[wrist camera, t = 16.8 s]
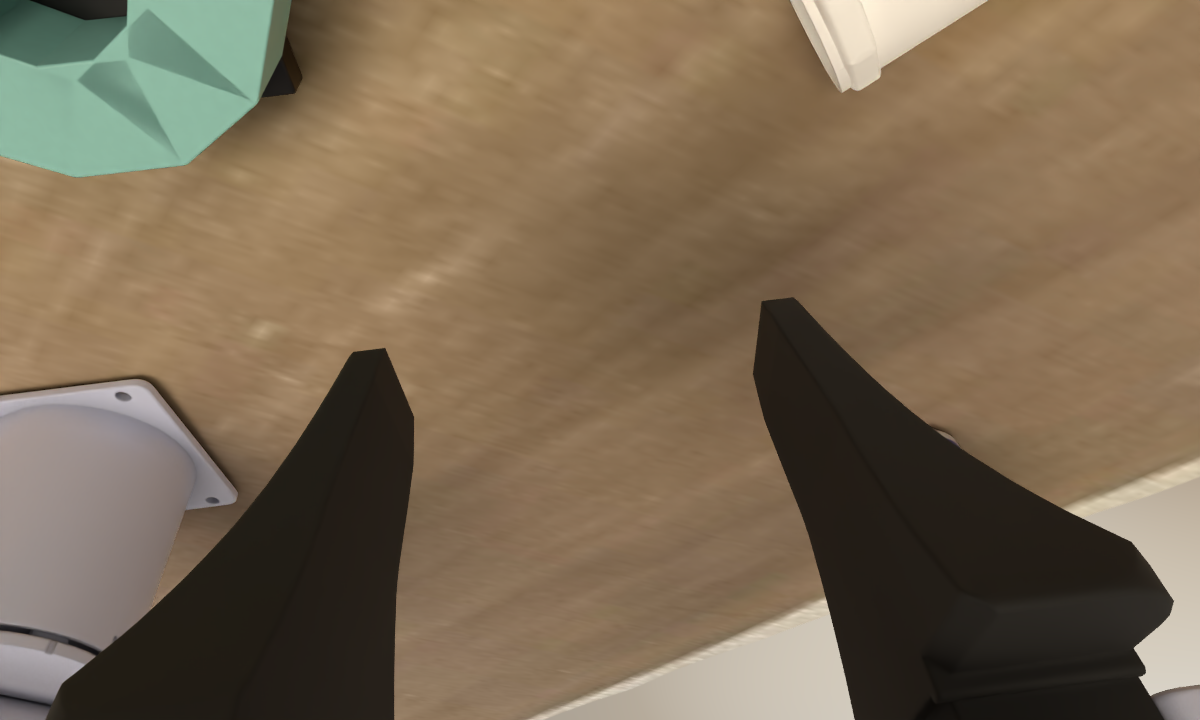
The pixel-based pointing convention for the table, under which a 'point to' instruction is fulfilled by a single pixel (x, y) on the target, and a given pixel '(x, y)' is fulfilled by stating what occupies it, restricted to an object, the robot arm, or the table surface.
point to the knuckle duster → (872, 32)
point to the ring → (131, 81)
